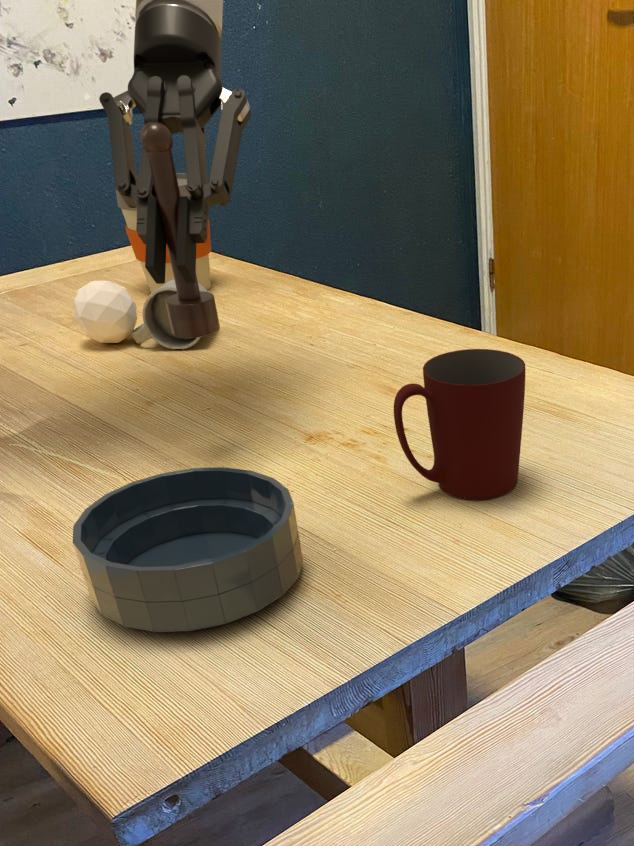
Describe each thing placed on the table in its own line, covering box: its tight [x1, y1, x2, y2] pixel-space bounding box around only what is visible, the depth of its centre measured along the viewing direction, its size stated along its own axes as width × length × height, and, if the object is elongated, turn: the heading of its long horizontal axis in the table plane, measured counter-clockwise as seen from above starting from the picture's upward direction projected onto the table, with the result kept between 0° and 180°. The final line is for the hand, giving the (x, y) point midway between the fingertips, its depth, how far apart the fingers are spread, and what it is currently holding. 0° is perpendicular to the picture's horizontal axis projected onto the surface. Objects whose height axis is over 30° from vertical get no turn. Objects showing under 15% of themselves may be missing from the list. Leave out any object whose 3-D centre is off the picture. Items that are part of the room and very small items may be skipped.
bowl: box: [72, 466, 304, 633], centre depth 73 cm, size 16×16×6 cm
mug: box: [393, 348, 526, 501], centre depth 83 cm, size 12×9×11 cm
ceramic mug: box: [130, 279, 209, 350], centre depth 121 cm, size 11×8×8 cm
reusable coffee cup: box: [115, 172, 212, 294], centre depth 138 cm, size 13×13×15 cm
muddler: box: [139, 122, 221, 338], centre depth 83 cm, size 4×4×17 cm
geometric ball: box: [73, 280, 138, 344], centre depth 121 cm, size 8×8×8 cm
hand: (170, 274), depth 81 cm, fingers closed on muddler, 2 cm apart
